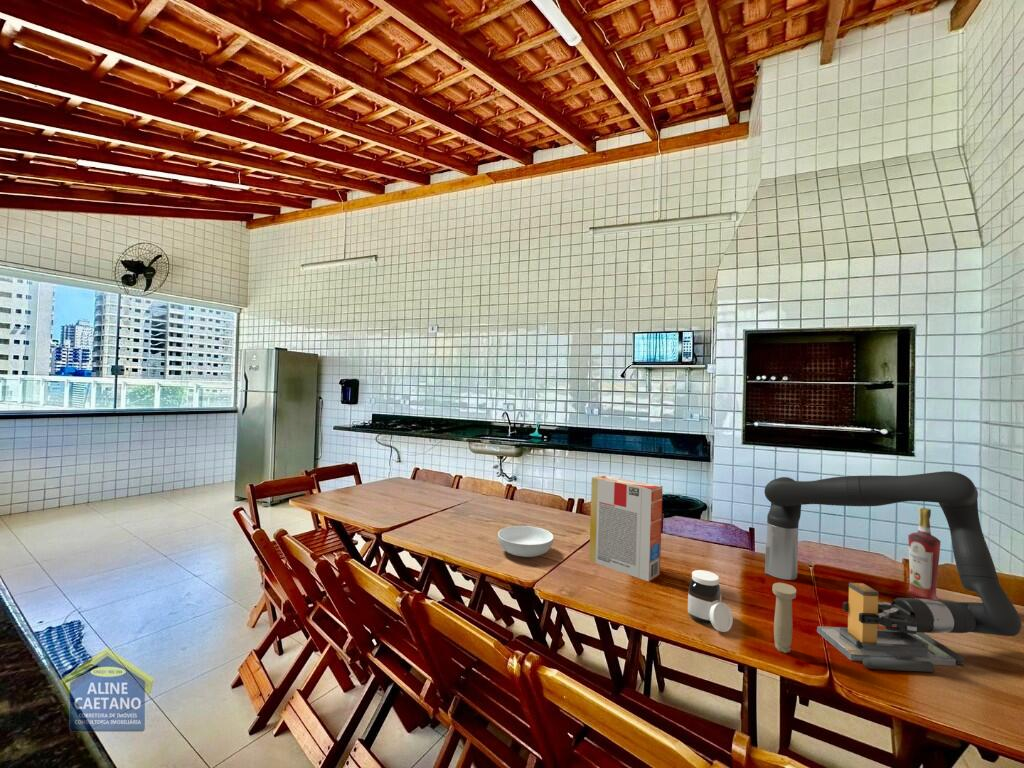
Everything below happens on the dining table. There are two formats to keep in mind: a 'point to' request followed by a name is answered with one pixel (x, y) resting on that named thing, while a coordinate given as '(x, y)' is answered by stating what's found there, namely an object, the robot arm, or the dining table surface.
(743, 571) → the dining table surface
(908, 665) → the grey rounded rod
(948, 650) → the dark grey rounded bar
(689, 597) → the spread jar
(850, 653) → the panel
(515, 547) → the serving bowl
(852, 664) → the dining table surface
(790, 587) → the handle
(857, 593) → the tan wooden block
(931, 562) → the liquor
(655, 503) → the cereal box
